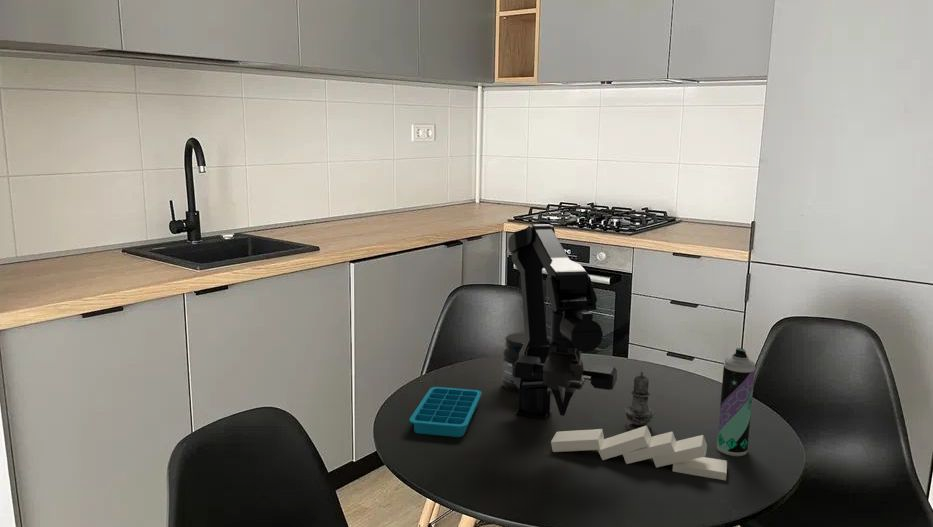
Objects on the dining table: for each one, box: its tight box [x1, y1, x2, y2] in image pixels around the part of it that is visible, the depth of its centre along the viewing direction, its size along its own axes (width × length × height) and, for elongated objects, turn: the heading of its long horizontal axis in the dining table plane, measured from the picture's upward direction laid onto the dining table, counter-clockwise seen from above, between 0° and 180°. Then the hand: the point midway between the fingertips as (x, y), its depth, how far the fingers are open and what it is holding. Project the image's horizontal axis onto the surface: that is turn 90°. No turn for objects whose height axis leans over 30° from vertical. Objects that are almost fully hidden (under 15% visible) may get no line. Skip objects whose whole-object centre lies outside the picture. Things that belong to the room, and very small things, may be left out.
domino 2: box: [597, 426, 652, 461], centre depth 133 cm, size 2×5×9 cm
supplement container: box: [501, 332, 525, 394], centre depth 168 cm, size 10×10×12 cm
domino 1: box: [550, 428, 605, 453], centre depth 136 cm, size 2×5×9 cm
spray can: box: [716, 347, 756, 457], centre depth 136 cm, size 6×6×20 cm
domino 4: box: [652, 434, 708, 468], centre depth 130 cm, size 2×5×9 cm
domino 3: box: [622, 431, 677, 465], centre depth 132 cm, size 2×5×9 cm
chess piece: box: [624, 371, 655, 433], centre depth 146 cm, size 6×6×12 cm
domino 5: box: [672, 457, 728, 481], centre depth 129 cm, size 2×5×9 cm
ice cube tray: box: [409, 386, 482, 438], centre depth 151 cm, size 12×20×3 cm, turn 169°
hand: (562, 415), depth 136 cm, fingers closed
